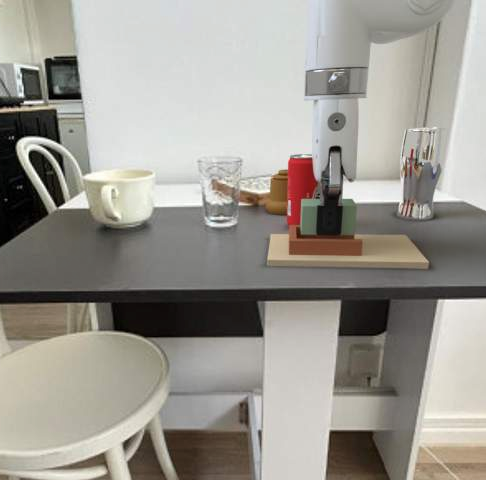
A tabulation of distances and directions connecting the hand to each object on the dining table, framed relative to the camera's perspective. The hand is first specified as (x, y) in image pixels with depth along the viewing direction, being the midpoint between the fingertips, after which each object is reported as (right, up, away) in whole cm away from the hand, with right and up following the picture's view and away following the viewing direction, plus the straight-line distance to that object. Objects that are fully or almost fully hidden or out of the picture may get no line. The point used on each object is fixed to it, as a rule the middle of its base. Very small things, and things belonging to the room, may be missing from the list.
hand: (326, 228), depth 61 cm
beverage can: (-1, +1, +14) cm, 14 cm away
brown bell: (-2, +6, +25) cm, 26 cm away
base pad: (+2, -3, +1) cm, 4 cm away
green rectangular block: (0, 0, 0) cm, 0 cm away
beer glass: (+20, +4, +18) cm, 27 cm away
